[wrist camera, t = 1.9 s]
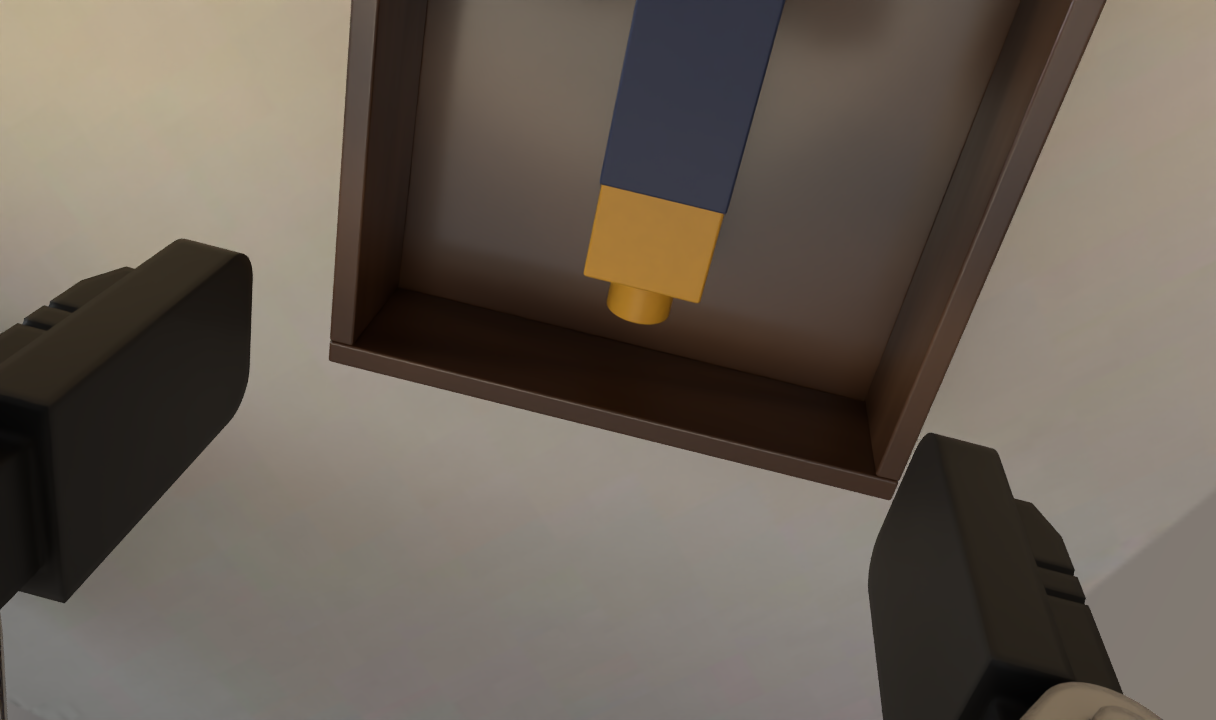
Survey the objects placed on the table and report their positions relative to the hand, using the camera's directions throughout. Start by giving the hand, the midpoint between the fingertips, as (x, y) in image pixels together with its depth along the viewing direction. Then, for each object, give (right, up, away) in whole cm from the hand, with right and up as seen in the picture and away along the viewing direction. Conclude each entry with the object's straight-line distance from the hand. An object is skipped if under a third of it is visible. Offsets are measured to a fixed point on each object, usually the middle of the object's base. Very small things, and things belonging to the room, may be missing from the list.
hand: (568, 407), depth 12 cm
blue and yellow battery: (+3, +7, +12) cm, 14 cm away
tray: (+3, +7, +12) cm, 15 cm away
